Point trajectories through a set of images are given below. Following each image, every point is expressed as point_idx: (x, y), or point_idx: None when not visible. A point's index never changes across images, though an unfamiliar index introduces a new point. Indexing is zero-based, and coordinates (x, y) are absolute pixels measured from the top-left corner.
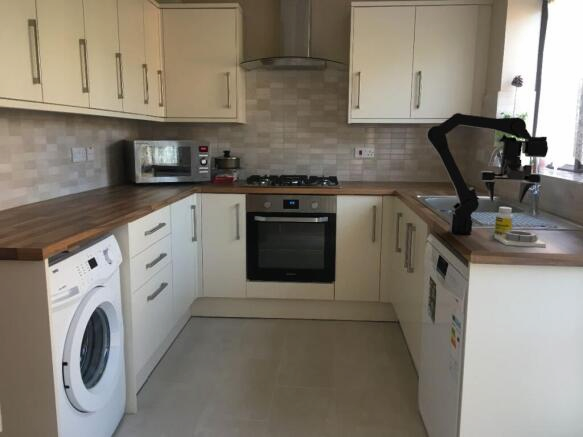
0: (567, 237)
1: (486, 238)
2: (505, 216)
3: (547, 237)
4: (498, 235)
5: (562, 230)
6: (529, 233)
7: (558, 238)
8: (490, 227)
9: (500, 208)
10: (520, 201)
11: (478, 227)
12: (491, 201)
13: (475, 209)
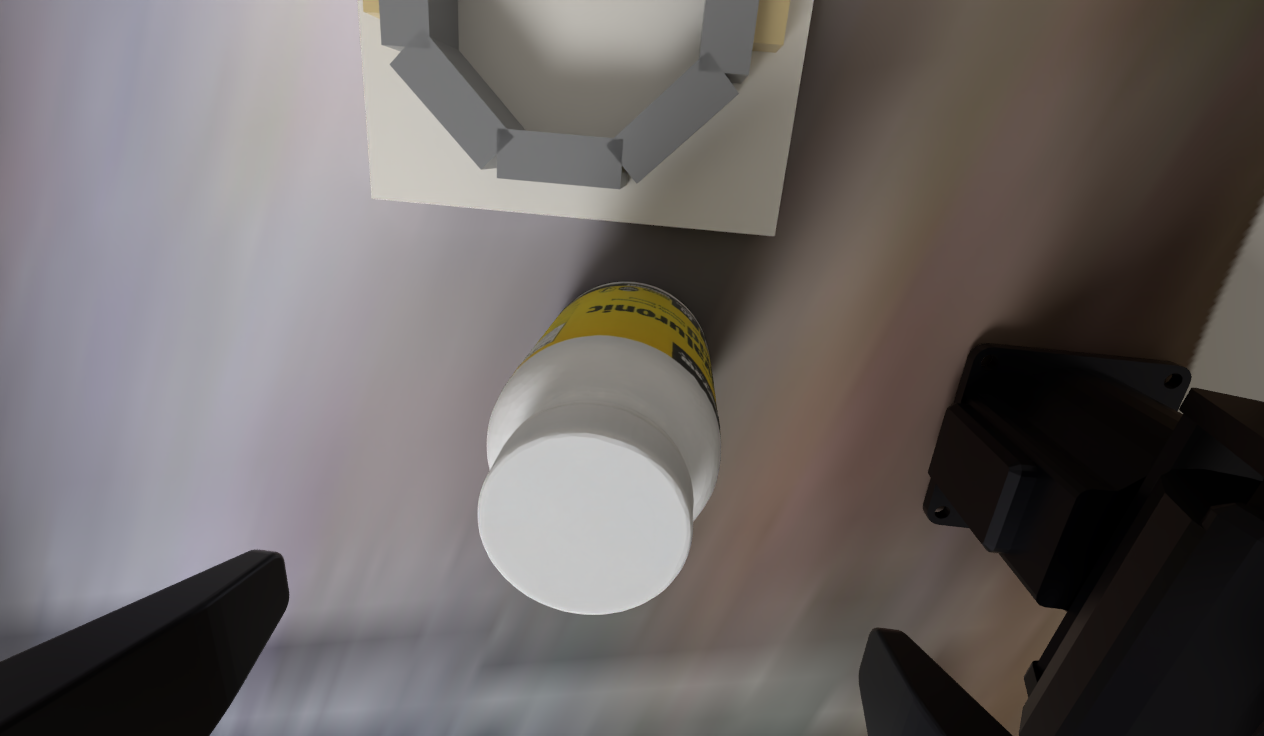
0: (15, 363)
1: (887, 176)
2: (635, 353)
3: (197, 336)
4: (748, 199)
5: (10, 636)
6: (431, 18)
7: (104, 304)
8: (582, 692)
9: (688, 500)
10: (248, 564)
11: (696, 684)
12: (895, 637)
13: (1176, 485)
